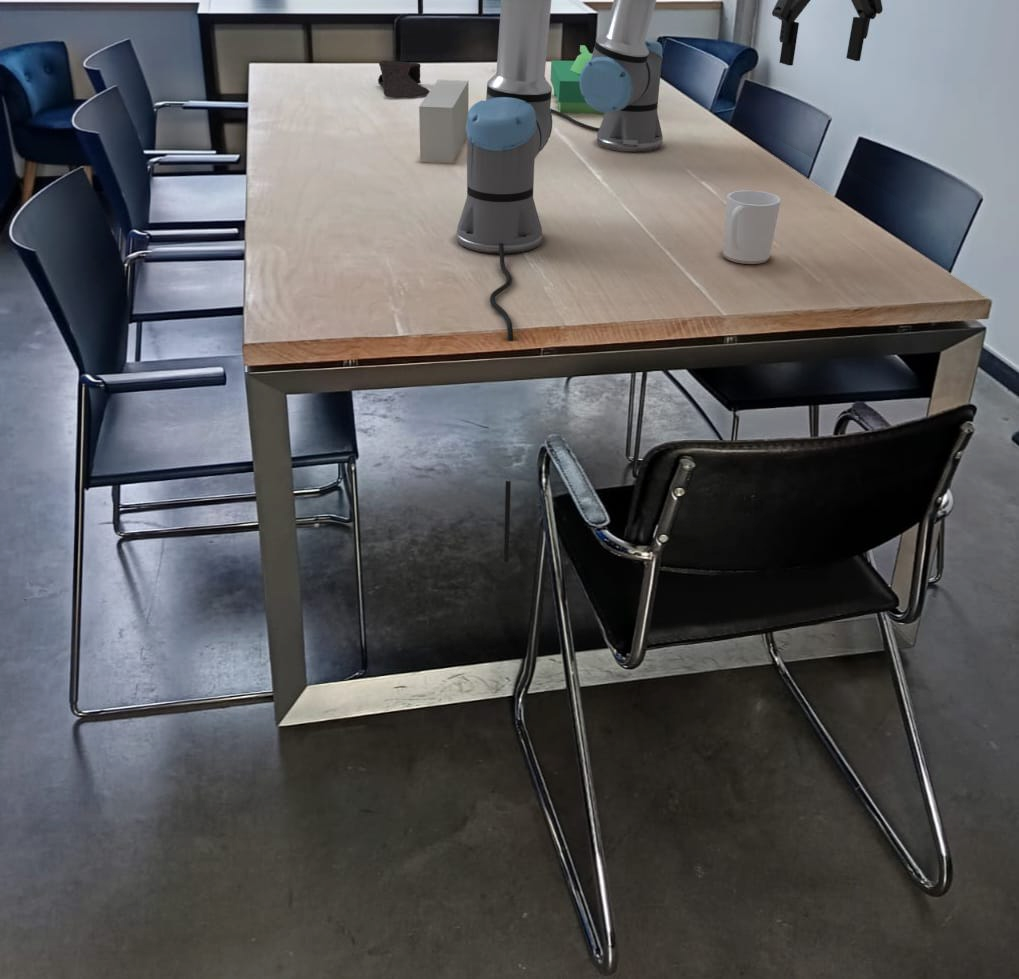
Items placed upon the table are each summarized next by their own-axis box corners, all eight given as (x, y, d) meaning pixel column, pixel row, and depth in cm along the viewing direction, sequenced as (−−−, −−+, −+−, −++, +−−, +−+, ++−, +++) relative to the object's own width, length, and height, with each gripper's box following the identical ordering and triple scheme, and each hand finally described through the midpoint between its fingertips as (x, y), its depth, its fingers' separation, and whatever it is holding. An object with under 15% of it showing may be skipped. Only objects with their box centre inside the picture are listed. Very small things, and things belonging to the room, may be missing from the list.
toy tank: (613, 42, 302) (631, 66, 272) (610, 88, 309) (627, 117, 279) (549, 40, 301) (560, 65, 272) (547, 87, 308) (558, 116, 278)
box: (453, 163, 239) (452, 107, 233) (420, 162, 239) (419, 106, 233) (468, 132, 263) (468, 80, 256) (438, 131, 263) (438, 79, 257)
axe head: (443, 87, 294) (392, 77, 287) (436, 115, 299) (385, 106, 292) (421, 62, 307) (371, 52, 300) (414, 89, 311) (365, 80, 304)
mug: (736, 244, 196) (743, 187, 191) (781, 255, 191) (790, 197, 186) (704, 259, 189) (711, 200, 183) (750, 272, 184) (758, 211, 179)
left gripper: (890, -84, 179) (865, 53, 190) (762, -83, 170) (744, 61, 182) (921, -80, 173) (894, 61, 184) (790, -79, 165) (770, 70, 176)
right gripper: (509, -92, 237) (507, 13, 248) (395, -95, 239) (398, 10, 250) (505, -90, 231) (504, 19, 242) (389, -93, 233) (392, 15, 244)
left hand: (819, 62), depth 183 cm, fingers open, 13 cm apart
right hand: (450, 14), depth 246 cm, fingers open, 13 cm apart
